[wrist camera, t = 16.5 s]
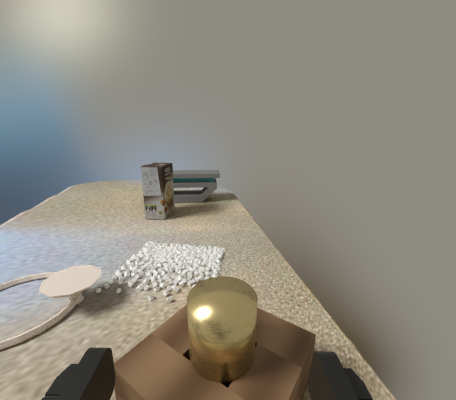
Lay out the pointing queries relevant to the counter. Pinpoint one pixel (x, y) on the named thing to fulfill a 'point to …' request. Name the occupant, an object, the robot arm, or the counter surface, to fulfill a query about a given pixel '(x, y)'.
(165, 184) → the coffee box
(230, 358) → the brass pin
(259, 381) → the walnut block
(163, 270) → the salt crystals
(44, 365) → the counter surface
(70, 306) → the hand towel holder
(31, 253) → the counter surface
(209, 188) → the grey slotted bar
